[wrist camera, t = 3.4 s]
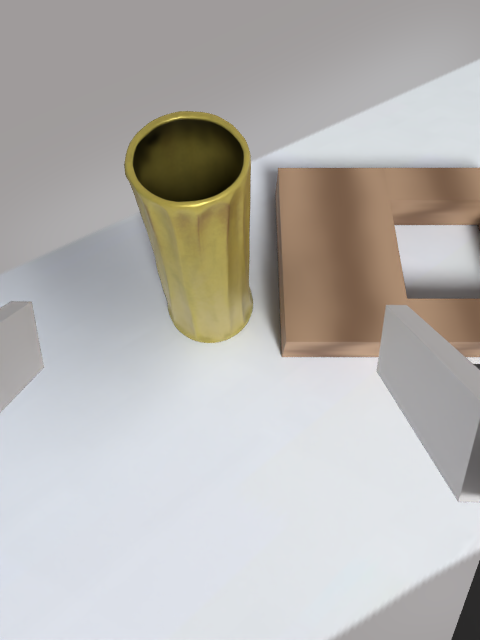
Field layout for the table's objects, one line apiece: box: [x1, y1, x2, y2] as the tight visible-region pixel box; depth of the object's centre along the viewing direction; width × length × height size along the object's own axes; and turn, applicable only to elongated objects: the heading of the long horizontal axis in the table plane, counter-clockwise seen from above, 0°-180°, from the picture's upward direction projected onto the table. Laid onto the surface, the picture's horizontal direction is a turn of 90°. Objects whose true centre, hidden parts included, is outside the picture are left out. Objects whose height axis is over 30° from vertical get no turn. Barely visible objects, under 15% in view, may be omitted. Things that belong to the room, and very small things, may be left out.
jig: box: [275, 168, 480, 357], centre depth 30 cm, size 18×14×3 cm
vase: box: [124, 111, 253, 343], centre depth 23 cm, size 6×6×14 cm
